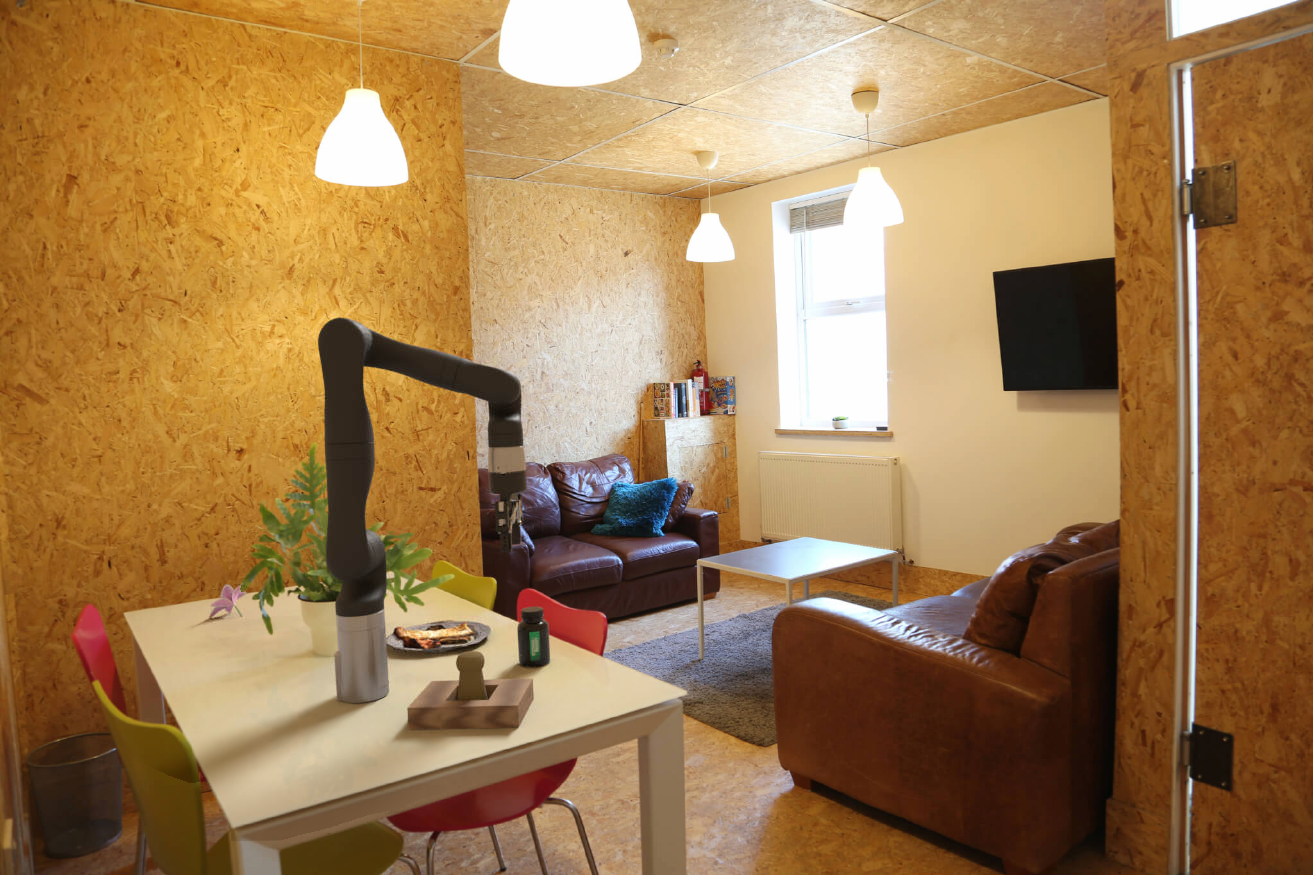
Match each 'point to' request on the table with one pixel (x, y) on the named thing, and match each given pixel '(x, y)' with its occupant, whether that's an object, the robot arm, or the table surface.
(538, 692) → the table surface
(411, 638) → the food plate
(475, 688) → the cork
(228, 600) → the lily
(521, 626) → the supplement bottle
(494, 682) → the holder block
